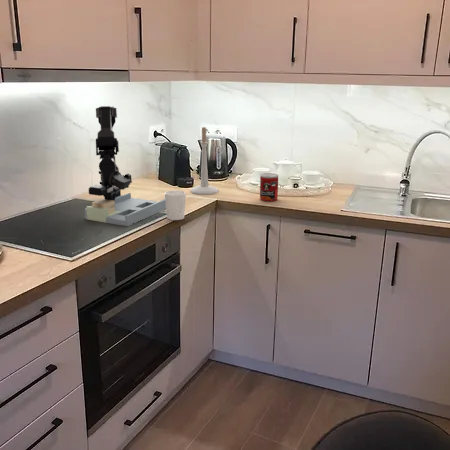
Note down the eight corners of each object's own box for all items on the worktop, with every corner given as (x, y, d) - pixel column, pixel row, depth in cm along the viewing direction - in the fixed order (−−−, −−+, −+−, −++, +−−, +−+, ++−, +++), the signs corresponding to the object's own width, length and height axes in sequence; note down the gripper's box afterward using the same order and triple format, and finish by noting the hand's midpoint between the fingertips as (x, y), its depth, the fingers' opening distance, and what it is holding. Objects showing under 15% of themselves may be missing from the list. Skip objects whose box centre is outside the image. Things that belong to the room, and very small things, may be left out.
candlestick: (219, 188, 242) (218, 124, 233) (217, 195, 230) (217, 128, 221) (192, 187, 243) (191, 124, 234) (189, 194, 231) (188, 127, 222)
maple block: (92, 213, 194) (91, 202, 193) (102, 210, 199) (102, 198, 198) (105, 215, 192) (104, 204, 190) (115, 211, 197) (114, 200, 195)
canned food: (257, 200, 221) (258, 175, 218) (263, 196, 228) (263, 172, 225) (274, 202, 218) (275, 177, 215) (279, 198, 225) (280, 173, 222)
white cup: (180, 221, 192) (179, 196, 189) (161, 219, 194) (160, 194, 191) (189, 216, 199) (188, 191, 196) (170, 214, 201) (170, 189, 198)
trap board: (85, 219, 195) (84, 206, 193) (129, 201, 218) (128, 190, 217) (127, 226, 186) (127, 213, 185) (168, 207, 210) (168, 195, 209)
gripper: (110, 175, 183) (113, 216, 188) (139, 164, 199) (142, 203, 204) (85, 172, 188) (89, 212, 193) (116, 162, 203) (119, 199, 208)
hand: (111, 207), depth 199 cm, fingers closed
